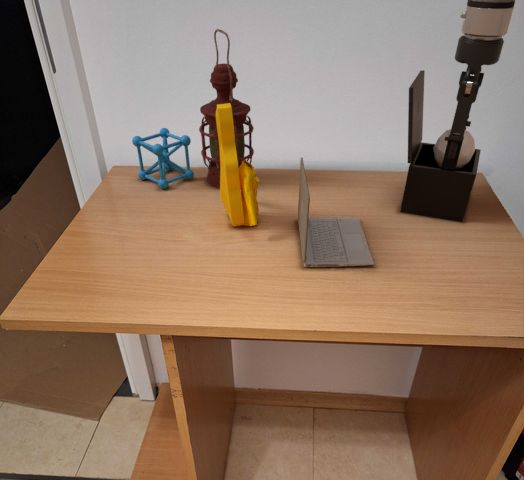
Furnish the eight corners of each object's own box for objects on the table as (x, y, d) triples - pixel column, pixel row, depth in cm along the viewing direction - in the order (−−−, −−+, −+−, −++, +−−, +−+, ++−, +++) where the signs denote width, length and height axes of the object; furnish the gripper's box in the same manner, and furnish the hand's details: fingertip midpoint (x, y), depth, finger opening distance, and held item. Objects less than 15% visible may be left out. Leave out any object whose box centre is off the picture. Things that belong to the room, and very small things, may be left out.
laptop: (373, 267, 85) (386, 197, 77) (303, 268, 85) (307, 197, 77) (358, 220, 99) (367, 156, 90) (297, 221, 99) (300, 156, 90)
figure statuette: (266, 240, 93) (266, 118, 78) (225, 243, 92) (217, 120, 77) (254, 200, 106) (252, 90, 91) (218, 203, 105) (211, 91, 91)
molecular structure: (163, 191, 110) (156, 146, 103) (137, 179, 115) (129, 136, 108) (196, 179, 115) (192, 135, 108) (170, 168, 120) (164, 125, 114)
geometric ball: (451, 184, 100) (460, 162, 92) (422, 161, 102) (429, 138, 94) (477, 160, 100) (489, 135, 92) (447, 137, 102) (456, 111, 94)
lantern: (263, 184, 112) (262, 32, 92) (214, 194, 108) (202, 37, 89) (242, 167, 121) (237, 23, 101) (196, 175, 117) (181, 27, 97)
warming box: (467, 194, 108) (480, 149, 102) (462, 222, 98) (476, 174, 92) (410, 185, 112) (419, 142, 105) (399, 212, 102) (409, 165, 95)
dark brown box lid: (424, 70, 97) (420, 70, 97) (413, 87, 86) (408, 88, 87) (422, 139, 105) (418, 140, 105) (411, 163, 95) (407, 163, 95)
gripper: (464, 25, 92) (436, 147, 107) (454, 45, 78) (423, 182, 93) (506, 28, 90) (471, 152, 105) (503, 48, 76) (464, 188, 91)
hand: (449, 166), depth 99 cm, fingers closed on geometric ball, 8 cm apart
